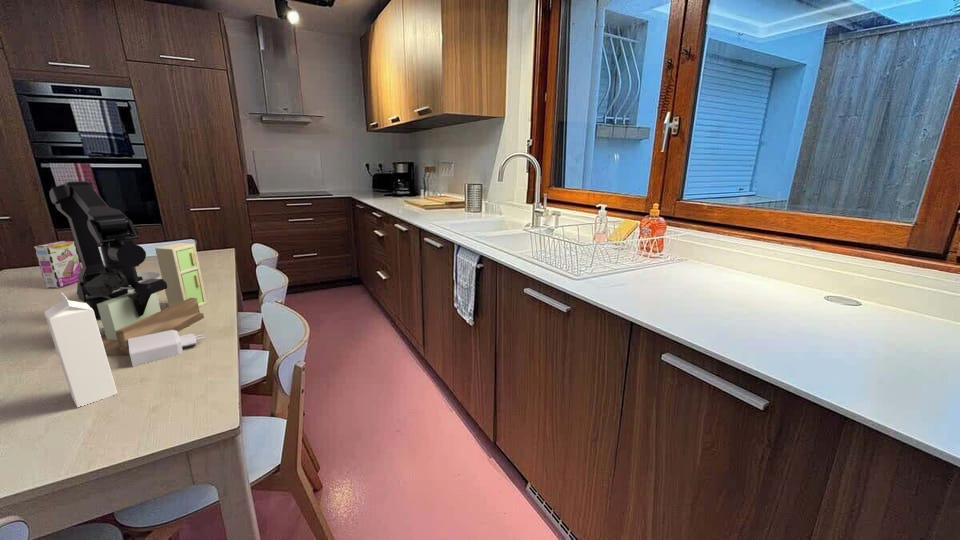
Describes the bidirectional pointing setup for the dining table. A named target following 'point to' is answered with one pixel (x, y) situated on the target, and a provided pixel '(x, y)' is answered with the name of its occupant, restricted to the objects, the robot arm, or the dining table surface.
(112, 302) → the door panel
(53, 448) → the dining table surface
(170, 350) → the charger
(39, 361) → the dining table surface
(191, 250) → the toy refrigerator
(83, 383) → the milk
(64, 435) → the dining table surface
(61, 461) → the dining table surface
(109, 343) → the cabinet base
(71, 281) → the candy bar box
